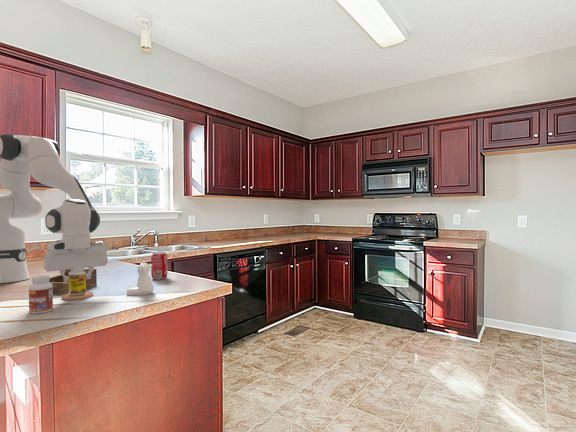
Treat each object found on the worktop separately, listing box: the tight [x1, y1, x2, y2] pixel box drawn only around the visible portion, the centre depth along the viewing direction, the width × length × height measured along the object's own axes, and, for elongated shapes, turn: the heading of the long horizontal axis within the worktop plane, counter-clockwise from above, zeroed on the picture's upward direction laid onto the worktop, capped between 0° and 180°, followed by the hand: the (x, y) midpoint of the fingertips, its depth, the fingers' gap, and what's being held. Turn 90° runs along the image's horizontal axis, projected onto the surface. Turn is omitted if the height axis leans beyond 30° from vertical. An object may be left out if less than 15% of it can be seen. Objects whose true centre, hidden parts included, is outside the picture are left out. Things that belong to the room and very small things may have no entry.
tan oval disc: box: [61, 290, 94, 301], centre depth 128 cm, size 10×10×1 cm
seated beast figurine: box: [125, 262, 155, 296], centre depth 133 cm, size 10×9×12 cm
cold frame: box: [49, 268, 98, 294], centre depth 141 cm, size 14×14×7 cm
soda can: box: [150, 251, 168, 281], centre depth 161 cm, size 7×7×12 cm
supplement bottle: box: [68, 267, 87, 295], centre depth 128 cm, size 6×6×10 cm
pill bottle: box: [28, 275, 54, 315], centre depth 110 cm, size 6×6×11 cm
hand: (77, 280), depth 128 cm, fingers closed on supplement bottle, 5 cm apart
